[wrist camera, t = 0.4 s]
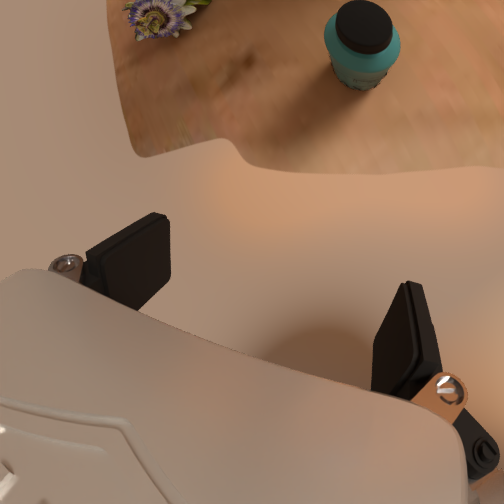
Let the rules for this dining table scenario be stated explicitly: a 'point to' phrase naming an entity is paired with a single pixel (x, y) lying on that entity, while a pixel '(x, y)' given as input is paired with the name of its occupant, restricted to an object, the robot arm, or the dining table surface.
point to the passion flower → (161, 16)
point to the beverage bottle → (361, 44)
